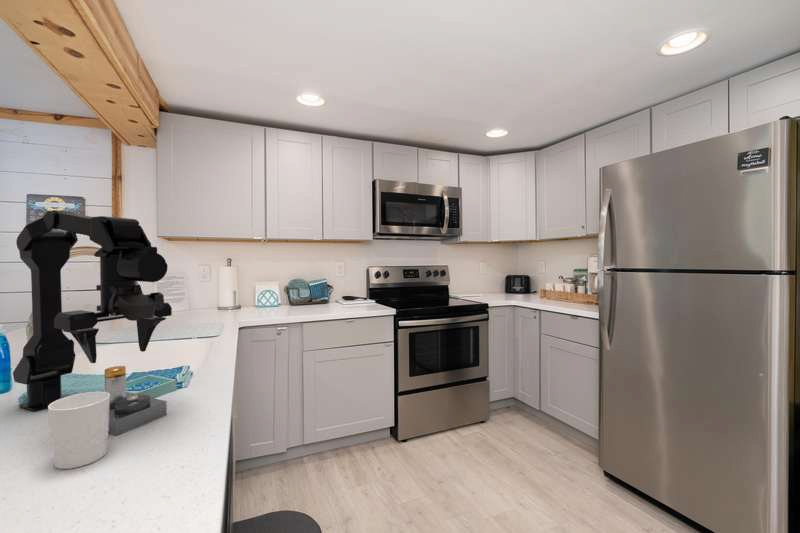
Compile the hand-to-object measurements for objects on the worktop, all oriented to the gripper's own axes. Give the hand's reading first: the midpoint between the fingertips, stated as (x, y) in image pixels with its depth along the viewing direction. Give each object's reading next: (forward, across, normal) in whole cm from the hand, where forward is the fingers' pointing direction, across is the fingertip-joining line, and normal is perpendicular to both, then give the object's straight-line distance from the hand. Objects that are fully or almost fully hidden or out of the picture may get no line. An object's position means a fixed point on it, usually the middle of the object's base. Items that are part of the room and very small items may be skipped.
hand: (119, 356), depth 74 cm
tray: (+14, +12, +12) cm, 22 cm away
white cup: (+14, -10, -8) cm, 19 cm away
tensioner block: (+14, +2, +1) cm, 14 cm away
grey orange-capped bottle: (+14, +2, +4) cm, 14 cm away
